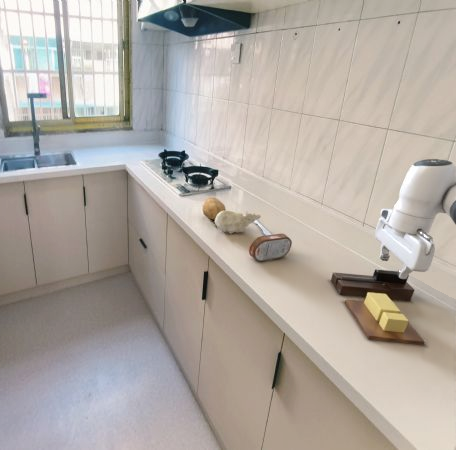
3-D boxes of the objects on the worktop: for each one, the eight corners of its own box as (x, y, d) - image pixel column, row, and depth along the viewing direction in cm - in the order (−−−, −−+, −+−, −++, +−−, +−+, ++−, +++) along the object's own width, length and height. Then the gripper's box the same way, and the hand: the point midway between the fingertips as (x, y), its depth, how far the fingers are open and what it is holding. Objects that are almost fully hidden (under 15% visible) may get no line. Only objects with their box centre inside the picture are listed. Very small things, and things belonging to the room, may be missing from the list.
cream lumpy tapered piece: (205, 234, 131) (229, 223, 118) (205, 217, 133) (228, 204, 121) (237, 242, 137) (263, 231, 124) (236, 225, 139) (262, 213, 127)
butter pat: (398, 325, 81) (403, 313, 80) (404, 332, 79) (409, 320, 77) (378, 323, 81) (383, 311, 80) (383, 330, 79) (388, 318, 78)
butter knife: (266, 235, 126) (273, 235, 126) (245, 211, 148) (251, 211, 148) (265, 236, 126) (273, 236, 127) (245, 212, 148) (251, 212, 148)
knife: (398, 289, 96) (405, 271, 93) (402, 293, 94) (409, 275, 92) (338, 283, 97) (343, 266, 95) (340, 287, 96) (345, 269, 93)
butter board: (391, 307, 89) (392, 303, 89) (423, 345, 77) (425, 341, 76) (344, 302, 90) (345, 299, 90) (368, 339, 78) (369, 335, 77)
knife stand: (396, 287, 98) (400, 275, 97) (410, 301, 92) (415, 289, 90) (330, 280, 100) (333, 269, 99) (339, 294, 94) (343, 283, 92)
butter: (381, 304, 88) (385, 293, 87) (396, 322, 82) (400, 311, 80) (363, 303, 89) (367, 292, 87) (376, 320, 82) (381, 309, 81)
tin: (284, 253, 115) (289, 231, 111) (290, 257, 112) (295, 235, 109) (246, 259, 110) (250, 236, 107) (252, 264, 107) (256, 240, 104)
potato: (205, 225, 134) (207, 206, 131) (198, 212, 147) (199, 194, 144) (229, 225, 135) (231, 206, 132) (220, 212, 148) (222, 195, 145)
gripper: (450, 241, 77) (427, 291, 83) (401, 209, 96) (385, 252, 101) (421, 238, 78) (400, 288, 83) (378, 207, 96) (363, 249, 102)
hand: (391, 268), depth 92 cm, fingers open, 8 cm apart
